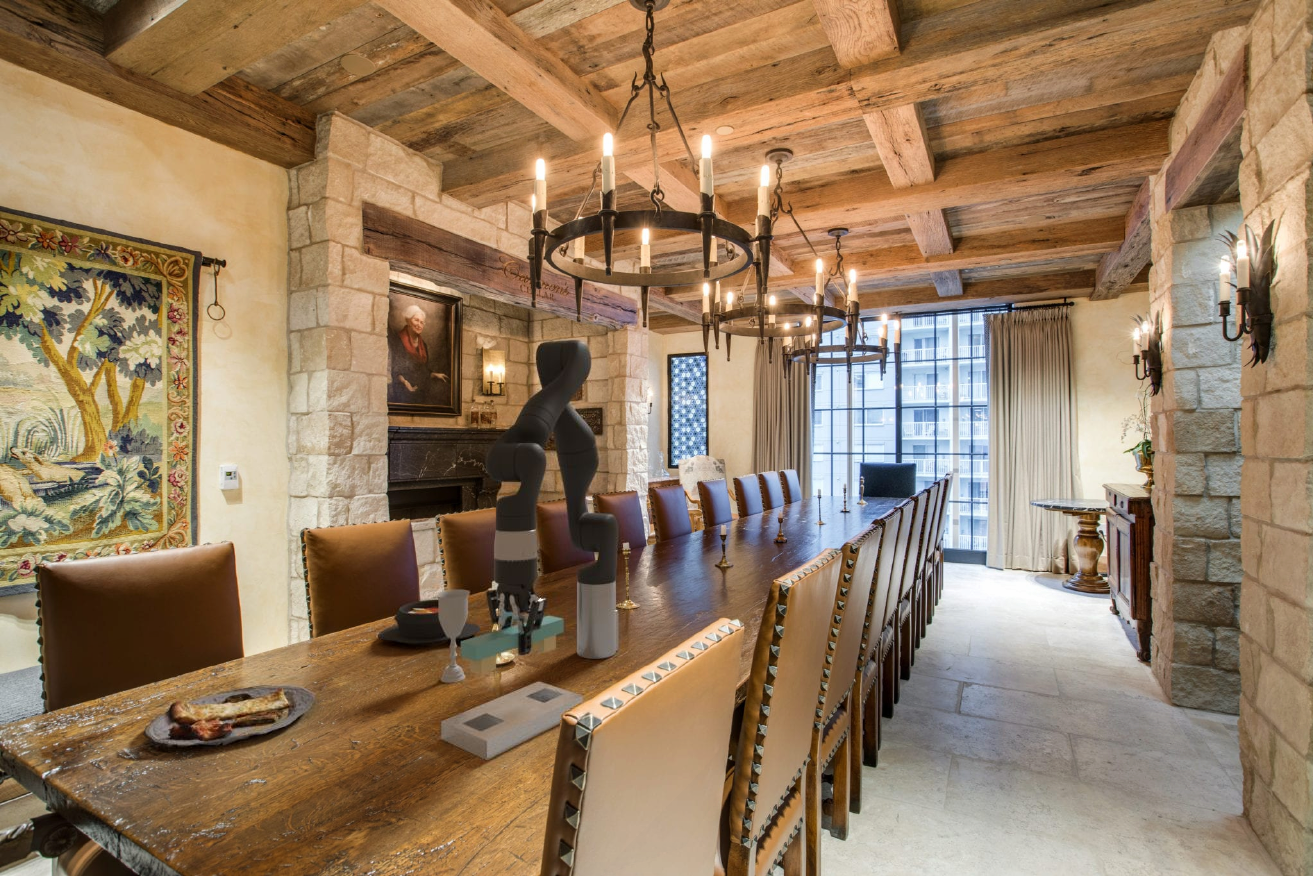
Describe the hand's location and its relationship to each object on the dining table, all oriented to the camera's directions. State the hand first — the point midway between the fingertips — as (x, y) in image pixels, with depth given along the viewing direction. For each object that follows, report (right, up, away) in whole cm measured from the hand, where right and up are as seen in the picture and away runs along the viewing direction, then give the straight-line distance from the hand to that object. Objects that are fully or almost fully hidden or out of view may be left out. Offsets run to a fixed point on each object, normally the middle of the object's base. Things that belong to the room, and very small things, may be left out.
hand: (515, 651), depth 111 cm
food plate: (-51, -14, +1) cm, 53 cm away
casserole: (-33, -14, +49) cm, 61 cm away
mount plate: (0, -13, 0) cm, 13 cm away
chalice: (-18, -14, +22) cm, 32 cm away
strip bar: (0, -1, 0) cm, 1 cm away
